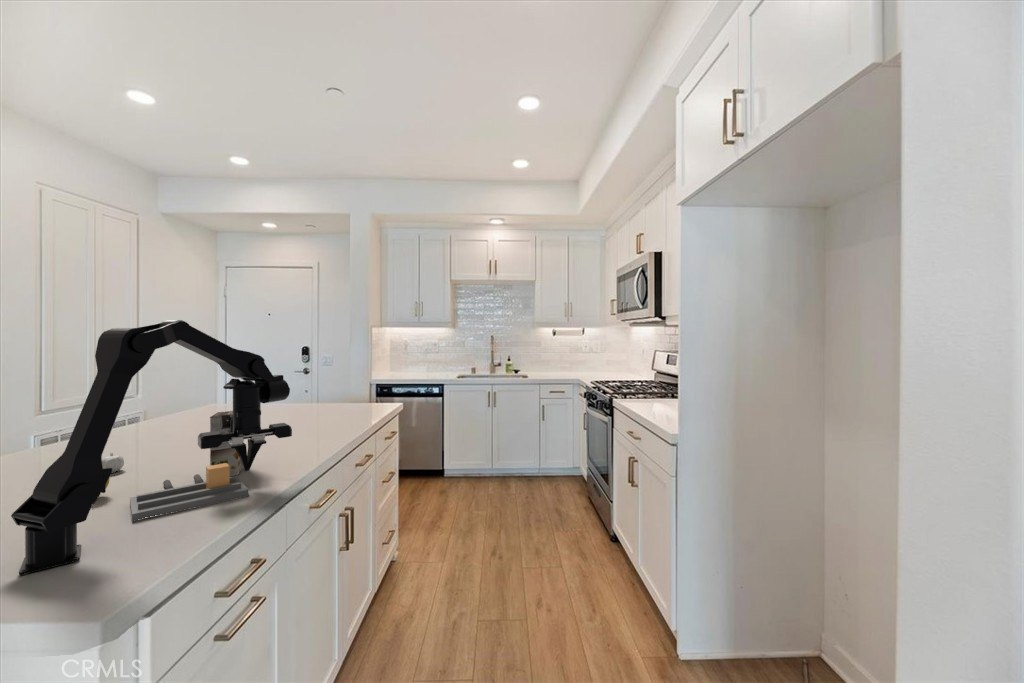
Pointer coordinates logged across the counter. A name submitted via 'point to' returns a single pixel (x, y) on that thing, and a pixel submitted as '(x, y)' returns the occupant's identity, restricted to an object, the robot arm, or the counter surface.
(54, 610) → the counter surface
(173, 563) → the counter surface
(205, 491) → the plate
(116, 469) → the garlic
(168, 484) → the dark grey parallel rods
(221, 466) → the light orange rectangular block
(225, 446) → the coffee box
